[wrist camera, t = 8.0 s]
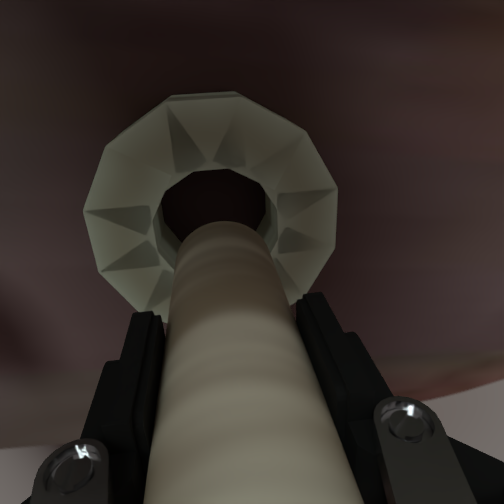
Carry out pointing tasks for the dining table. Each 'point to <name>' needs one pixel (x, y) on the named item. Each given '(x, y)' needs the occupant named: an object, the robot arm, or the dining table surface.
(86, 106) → the dining table surface
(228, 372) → the peg
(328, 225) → the bead
